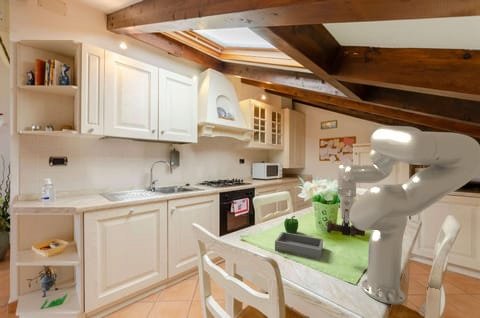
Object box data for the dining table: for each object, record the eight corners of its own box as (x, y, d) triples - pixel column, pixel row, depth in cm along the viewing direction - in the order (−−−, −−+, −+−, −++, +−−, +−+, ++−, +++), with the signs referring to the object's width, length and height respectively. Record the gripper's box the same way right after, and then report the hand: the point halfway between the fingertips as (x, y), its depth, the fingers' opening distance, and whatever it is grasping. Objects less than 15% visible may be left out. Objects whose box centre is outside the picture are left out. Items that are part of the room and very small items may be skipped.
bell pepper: (288, 236, 126) (289, 218, 125) (281, 230, 134) (282, 214, 133) (301, 234, 128) (302, 217, 128) (294, 229, 136) (294, 213, 136)
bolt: (364, 242, 94) (327, 234, 101) (364, 233, 98) (328, 226, 105) (365, 232, 91) (327, 225, 98) (365, 223, 95) (328, 217, 102)
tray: (320, 260, 98) (320, 250, 98) (274, 250, 107) (275, 241, 107) (322, 247, 111) (323, 239, 111) (281, 239, 120) (282, 231, 120)
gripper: (357, 196, 89) (356, 240, 89) (355, 190, 104) (354, 228, 104) (337, 194, 92) (336, 237, 92) (337, 189, 107) (336, 226, 107)
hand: (345, 232), depth 98 cm, fingers closed on bolt, 5 cm apart
